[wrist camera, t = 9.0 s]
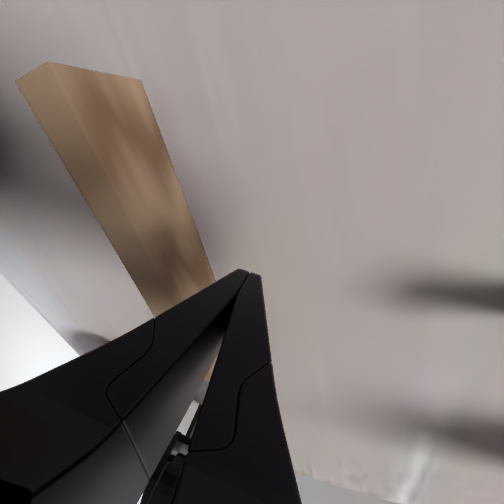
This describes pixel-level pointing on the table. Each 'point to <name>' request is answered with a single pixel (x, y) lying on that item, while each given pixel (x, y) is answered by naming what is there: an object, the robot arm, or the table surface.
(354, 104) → the table surface
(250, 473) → the robot arm
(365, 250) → the table surface
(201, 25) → the table surface
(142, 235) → the brown long flat bar
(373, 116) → the table surface
